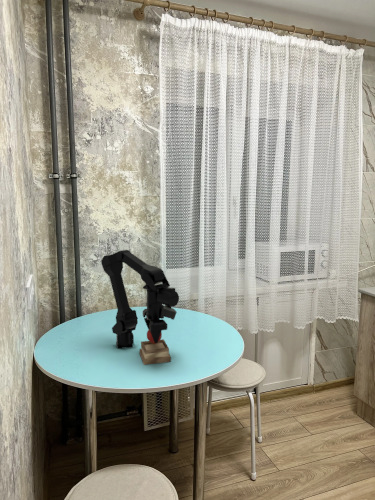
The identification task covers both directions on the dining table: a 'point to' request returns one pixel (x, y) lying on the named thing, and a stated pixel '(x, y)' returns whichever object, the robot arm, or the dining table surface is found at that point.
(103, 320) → the dining table surface
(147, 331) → the pomegranate
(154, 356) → the pedestal
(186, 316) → the dining table surface
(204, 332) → the dining table surface
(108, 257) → the robot arm
